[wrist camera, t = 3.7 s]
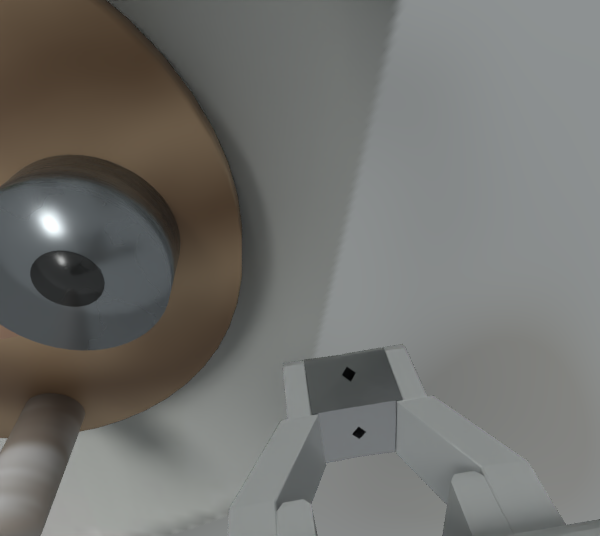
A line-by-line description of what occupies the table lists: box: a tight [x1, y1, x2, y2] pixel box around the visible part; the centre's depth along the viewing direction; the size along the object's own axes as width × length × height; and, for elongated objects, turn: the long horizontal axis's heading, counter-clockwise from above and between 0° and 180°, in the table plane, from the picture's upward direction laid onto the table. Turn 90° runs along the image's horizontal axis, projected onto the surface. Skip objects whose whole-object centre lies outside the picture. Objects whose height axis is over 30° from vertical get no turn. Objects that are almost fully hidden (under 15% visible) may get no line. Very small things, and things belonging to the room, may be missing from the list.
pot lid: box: [0, 155, 181, 351], centre depth 16 cm, size 7×7×3 cm
